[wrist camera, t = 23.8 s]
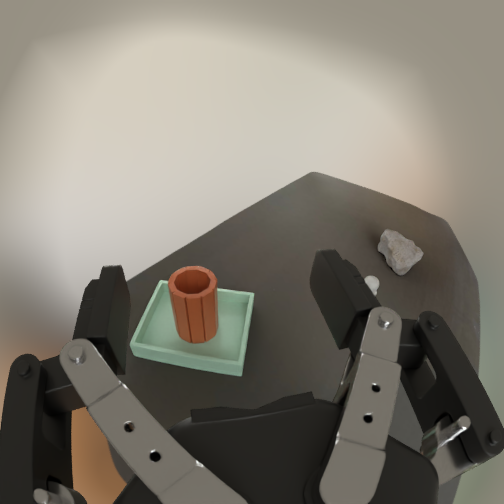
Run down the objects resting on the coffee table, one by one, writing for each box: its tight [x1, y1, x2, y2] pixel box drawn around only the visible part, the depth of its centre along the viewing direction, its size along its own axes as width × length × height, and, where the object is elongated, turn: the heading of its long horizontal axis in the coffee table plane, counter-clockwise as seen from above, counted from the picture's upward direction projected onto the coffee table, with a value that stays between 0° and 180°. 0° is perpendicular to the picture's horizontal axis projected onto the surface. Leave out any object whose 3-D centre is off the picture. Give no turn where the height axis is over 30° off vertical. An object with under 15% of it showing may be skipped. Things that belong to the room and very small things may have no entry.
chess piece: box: [364, 276, 379, 295], centre depth 45 cm, size 5×5×8 cm
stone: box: [378, 229, 423, 275], centre depth 58 cm, size 10×8×6 cm
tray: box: [130, 280, 254, 376], centre depth 42 cm, size 15×13×3 cm
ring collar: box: [168, 266, 218, 344], centre depth 40 cm, size 6×6×9 cm
